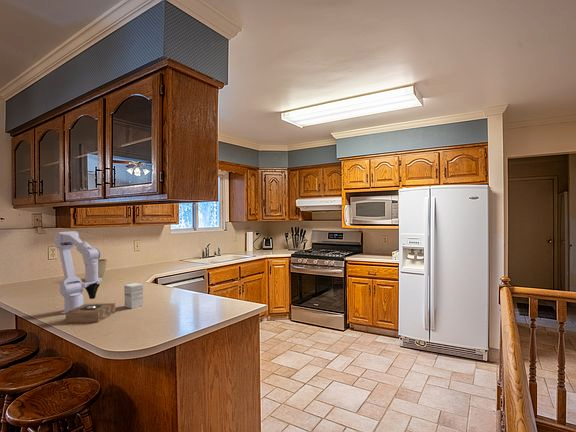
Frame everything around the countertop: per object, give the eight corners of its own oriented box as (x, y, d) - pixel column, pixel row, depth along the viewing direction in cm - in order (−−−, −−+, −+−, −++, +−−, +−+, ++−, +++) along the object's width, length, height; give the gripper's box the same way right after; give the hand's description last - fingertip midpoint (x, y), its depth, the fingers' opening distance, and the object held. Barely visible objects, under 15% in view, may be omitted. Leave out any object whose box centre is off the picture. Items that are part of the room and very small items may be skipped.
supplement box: (124, 307, 188) (123, 284, 188) (136, 304, 195) (135, 282, 194) (131, 309, 184) (131, 286, 184) (143, 305, 191) (143, 283, 190)
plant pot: (92, 278, 276) (91, 259, 276) (110, 277, 277) (110, 258, 277) (82, 282, 261) (81, 262, 261) (101, 281, 262) (101, 261, 262)
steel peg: (90, 315, 172) (89, 305, 172) (97, 315, 172) (97, 305, 172) (85, 317, 168) (85, 307, 168) (93, 317, 168) (93, 307, 168)
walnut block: (85, 312, 178) (85, 302, 178) (115, 312, 178) (115, 302, 178) (65, 322, 162) (65, 311, 162) (98, 322, 162) (98, 311, 162)
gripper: (91, 274, 164) (91, 302, 164) (107, 269, 178) (107, 294, 179) (76, 275, 164) (77, 302, 164) (94, 269, 178) (94, 295, 179)
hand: (92, 298), depth 171 cm, fingers closed
